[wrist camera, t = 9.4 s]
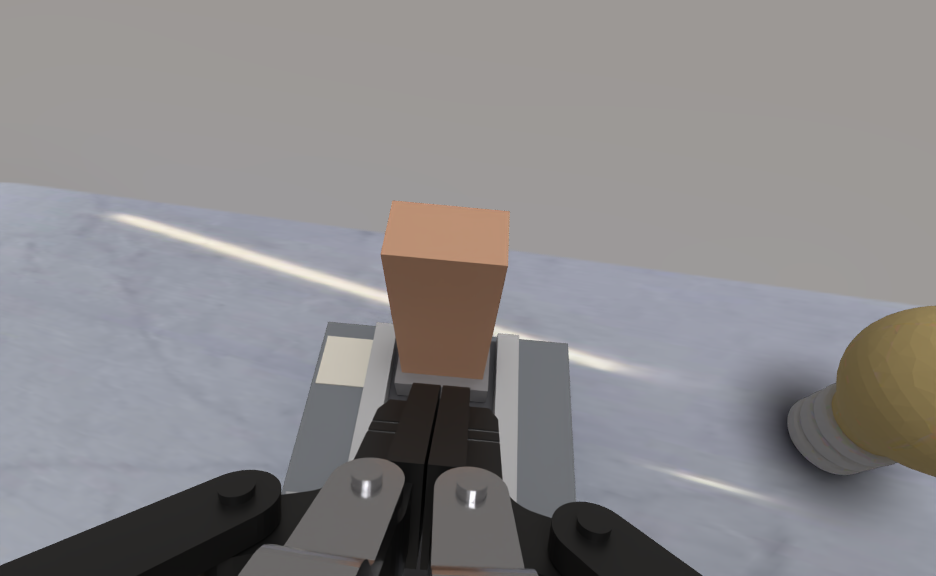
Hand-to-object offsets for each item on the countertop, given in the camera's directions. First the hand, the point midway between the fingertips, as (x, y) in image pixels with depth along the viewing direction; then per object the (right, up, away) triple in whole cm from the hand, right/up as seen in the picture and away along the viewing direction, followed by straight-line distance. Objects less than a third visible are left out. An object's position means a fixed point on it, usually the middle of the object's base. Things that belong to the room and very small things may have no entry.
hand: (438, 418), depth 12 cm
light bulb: (+18, -4, +11) cm, 22 cm away
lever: (0, 0, +10) cm, 10 cm away
